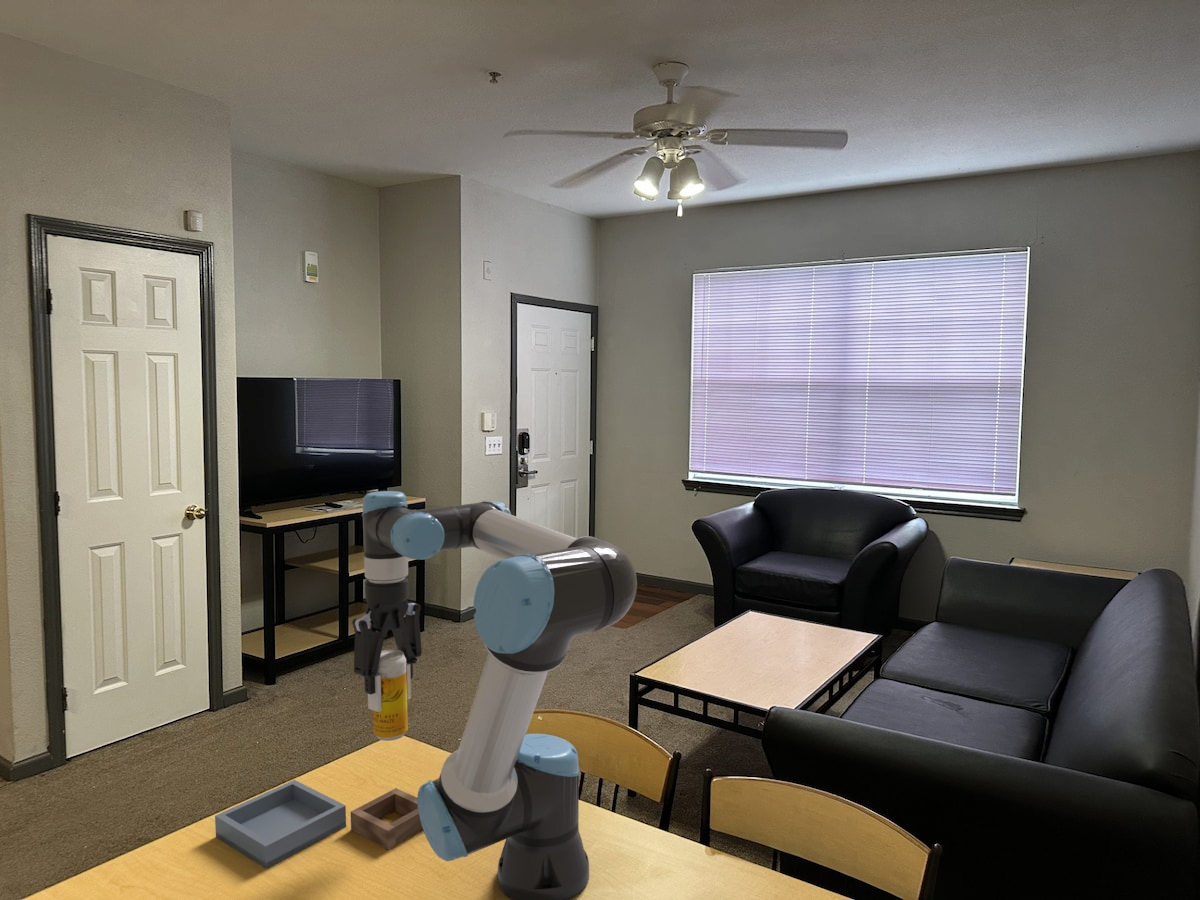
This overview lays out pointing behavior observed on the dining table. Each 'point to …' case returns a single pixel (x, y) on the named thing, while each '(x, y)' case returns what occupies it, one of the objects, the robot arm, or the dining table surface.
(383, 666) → the beer can
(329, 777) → the dining table surface
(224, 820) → the tray
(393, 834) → the collar holder
